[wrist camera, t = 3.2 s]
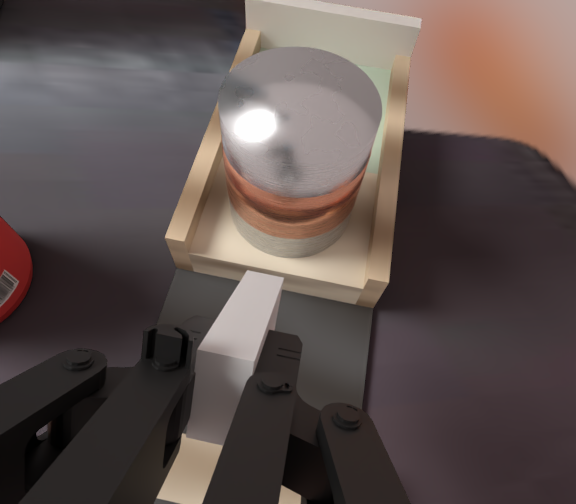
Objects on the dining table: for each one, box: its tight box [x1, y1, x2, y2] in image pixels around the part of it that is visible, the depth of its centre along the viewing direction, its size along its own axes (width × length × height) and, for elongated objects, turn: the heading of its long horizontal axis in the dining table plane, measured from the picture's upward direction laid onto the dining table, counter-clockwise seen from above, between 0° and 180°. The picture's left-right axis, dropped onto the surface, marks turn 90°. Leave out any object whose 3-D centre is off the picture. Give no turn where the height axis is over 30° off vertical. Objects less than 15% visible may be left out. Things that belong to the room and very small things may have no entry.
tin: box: [218, 46, 382, 258], centre depth 25 cm, size 8×8×9 cm
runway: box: [154, 29, 411, 504], centre depth 27 cm, size 44×13×4 cm, turn 169°
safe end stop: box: [245, 0, 422, 174], centre depth 34 cm, size 12×13×7 cm
